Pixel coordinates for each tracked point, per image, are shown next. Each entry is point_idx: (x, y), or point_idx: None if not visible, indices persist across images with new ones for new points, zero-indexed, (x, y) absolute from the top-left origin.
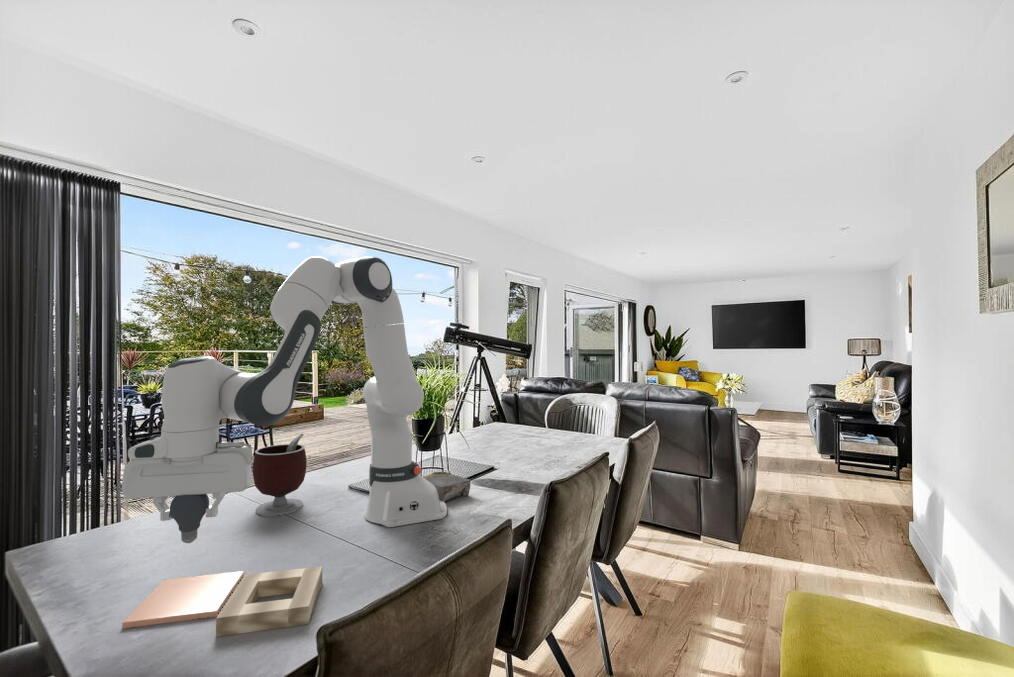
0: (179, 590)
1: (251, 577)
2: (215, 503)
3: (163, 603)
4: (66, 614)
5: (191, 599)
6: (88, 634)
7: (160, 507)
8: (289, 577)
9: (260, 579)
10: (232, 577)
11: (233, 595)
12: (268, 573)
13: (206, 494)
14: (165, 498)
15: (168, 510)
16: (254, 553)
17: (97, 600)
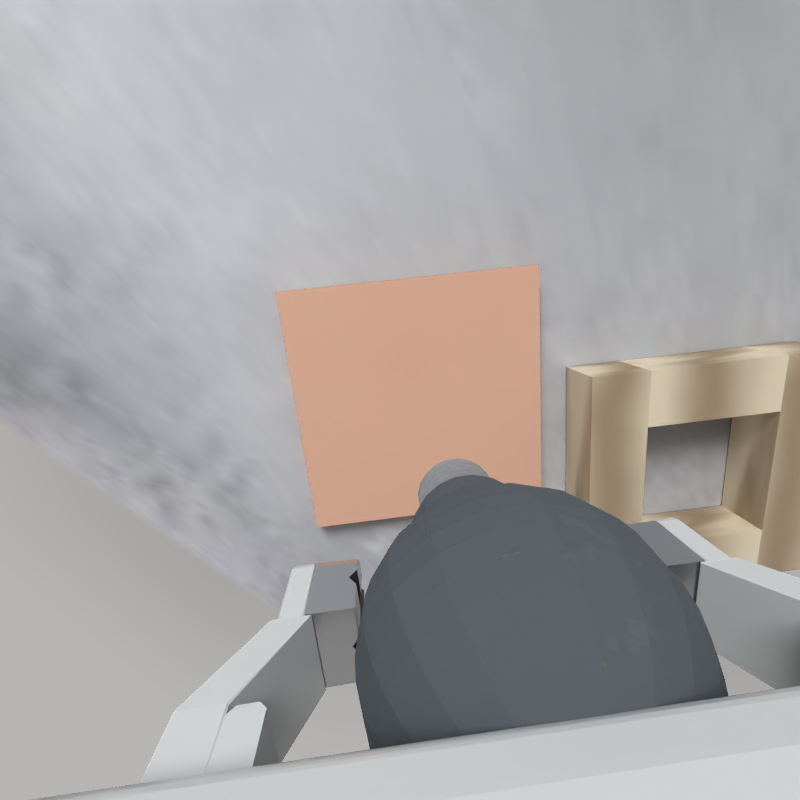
0: (376, 378)
1: (620, 399)
2: (768, 672)
3: (370, 448)
4: (97, 438)
5: (444, 436)
6: (249, 532)
7: (288, 740)
8: (743, 415)
9: (652, 416)
10: (515, 310)
11: (596, 502)
12: (670, 378)
13: (720, 670)
14: (272, 762)
15: (344, 665)
16: (510, 45)
17: (122, 370)
